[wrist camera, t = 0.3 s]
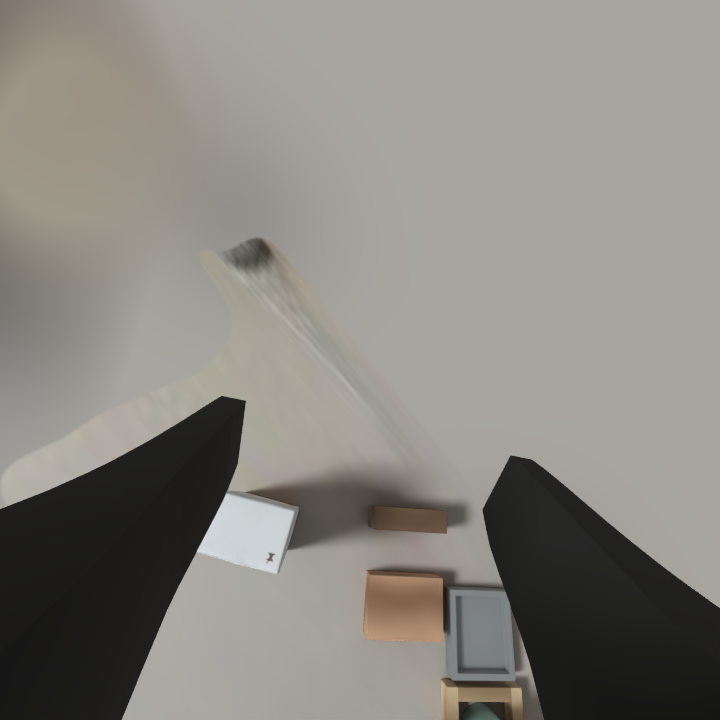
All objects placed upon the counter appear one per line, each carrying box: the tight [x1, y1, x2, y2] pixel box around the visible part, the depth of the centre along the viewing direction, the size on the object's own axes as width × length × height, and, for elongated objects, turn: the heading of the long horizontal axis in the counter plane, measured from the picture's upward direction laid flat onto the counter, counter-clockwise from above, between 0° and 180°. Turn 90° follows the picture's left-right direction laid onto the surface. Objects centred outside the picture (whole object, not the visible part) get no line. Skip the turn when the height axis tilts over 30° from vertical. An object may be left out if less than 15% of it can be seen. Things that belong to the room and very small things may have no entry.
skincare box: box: [196, 491, 299, 574], centre depth 30 cm, size 6×4×12 cm
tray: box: [445, 586, 516, 681], centre depth 35 cm, size 7×6×2 cm
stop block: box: [369, 505, 447, 534], centre depth 36 cm, size 2×7×4 cm, turn 87°
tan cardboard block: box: [363, 571, 443, 642], centre depth 34 cm, size 5×7×2 cm
